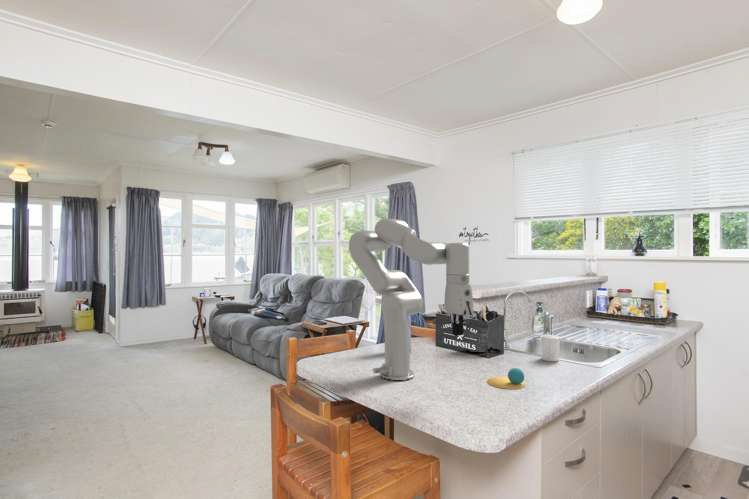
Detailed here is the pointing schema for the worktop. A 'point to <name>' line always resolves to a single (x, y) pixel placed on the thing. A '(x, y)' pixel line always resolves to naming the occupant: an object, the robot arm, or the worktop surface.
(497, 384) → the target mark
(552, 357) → the white cup
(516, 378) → the ball
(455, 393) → the worktop surface
